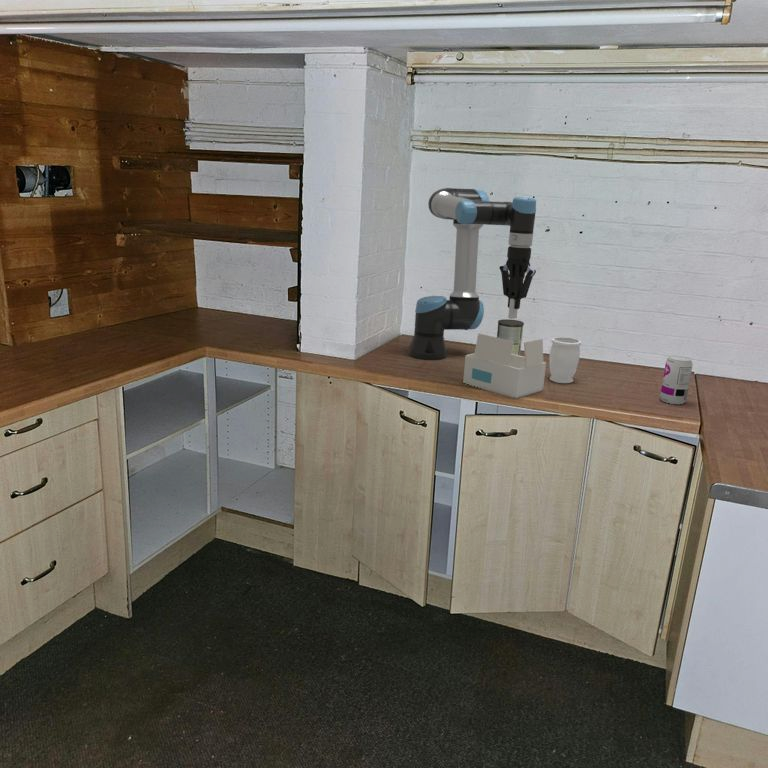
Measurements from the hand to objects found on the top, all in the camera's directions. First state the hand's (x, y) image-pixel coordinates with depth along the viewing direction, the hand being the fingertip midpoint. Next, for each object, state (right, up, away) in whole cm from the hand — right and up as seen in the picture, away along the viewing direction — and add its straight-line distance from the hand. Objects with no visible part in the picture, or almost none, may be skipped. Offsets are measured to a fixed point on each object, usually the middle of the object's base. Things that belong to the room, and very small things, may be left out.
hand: (512, 318), depth 232 cm
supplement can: (+54, -28, +1) cm, 61 cm away
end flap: (+6, -12, -3) cm, 14 cm away
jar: (+21, -21, +20) cm, 36 cm away
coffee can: (+8, -11, +53) cm, 54 cm away
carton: (-2, -23, +8) cm, 24 cm away
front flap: (-6, -11, -2) cm, 12 cm away
